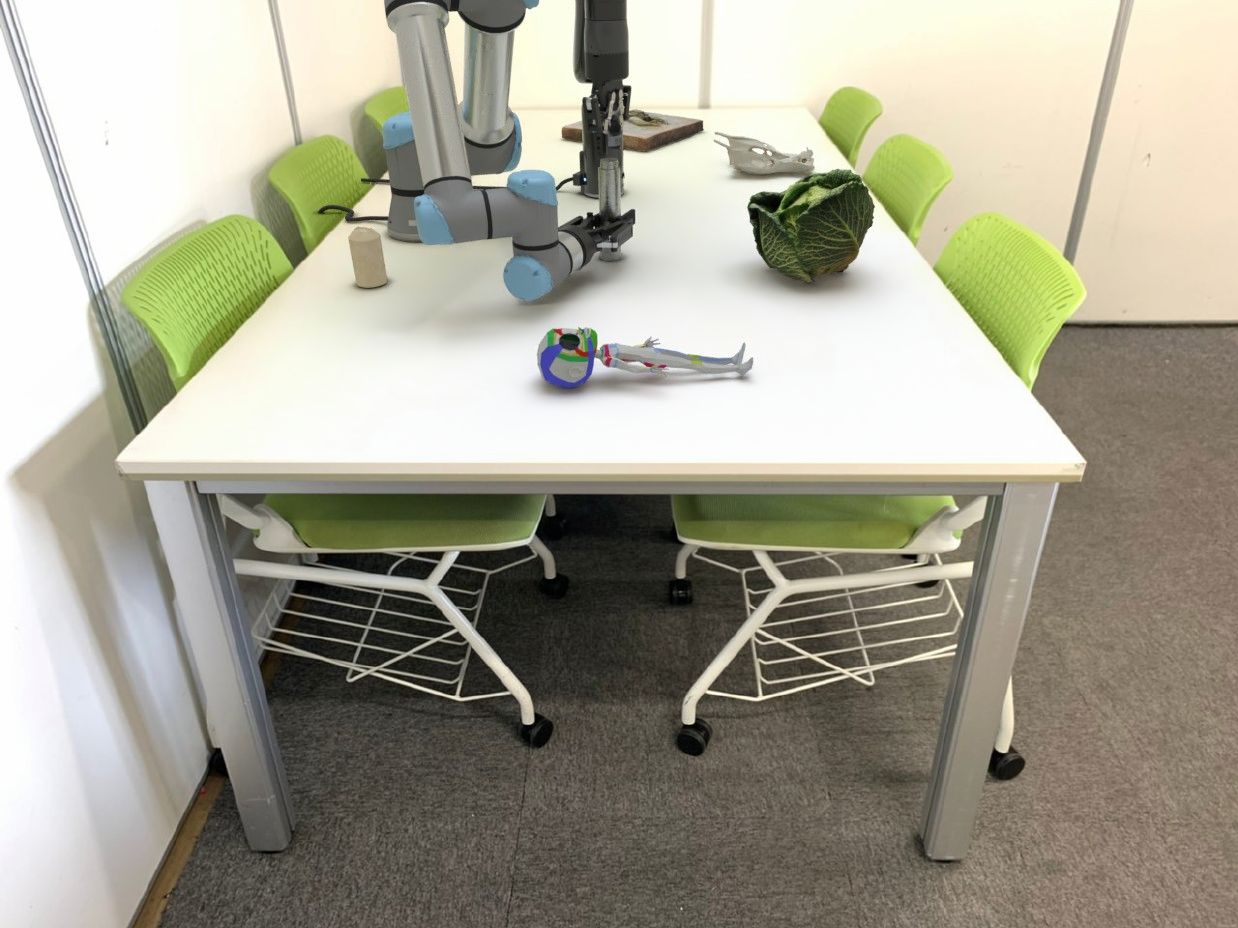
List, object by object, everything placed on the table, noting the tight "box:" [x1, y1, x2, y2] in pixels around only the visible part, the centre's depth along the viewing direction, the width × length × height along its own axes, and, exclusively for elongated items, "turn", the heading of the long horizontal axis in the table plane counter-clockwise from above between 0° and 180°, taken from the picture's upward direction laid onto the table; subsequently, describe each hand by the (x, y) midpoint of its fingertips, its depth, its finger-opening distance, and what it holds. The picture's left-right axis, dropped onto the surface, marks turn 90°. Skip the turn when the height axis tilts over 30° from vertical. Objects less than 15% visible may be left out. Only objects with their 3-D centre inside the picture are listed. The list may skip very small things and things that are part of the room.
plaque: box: [561, 108, 705, 152], centre depth 257 cm, size 30×7×30 cm
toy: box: [536, 326, 754, 389], centre depth 127 cm, size 10×8×30 cm
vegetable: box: [746, 168, 876, 284], centre depth 158 cm, size 20×19×20 cm
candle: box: [347, 226, 388, 289], centre depth 159 cm, size 6×6×10 cm
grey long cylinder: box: [598, 158, 622, 262], centre depth 167 cm, size 4×4×18 cm
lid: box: [607, 131, 622, 147], centre depth 160 cm, size 5×5×2 cm
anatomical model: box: [713, 131, 815, 176], centre depth 221 cm, size 15×9×25 cm
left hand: (622, 214), depth 172 cm, fingers closed on grey long cylinder, 4 cm apart
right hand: (608, 151), depth 161 cm, fingers closed on lid, 4 cm apart
